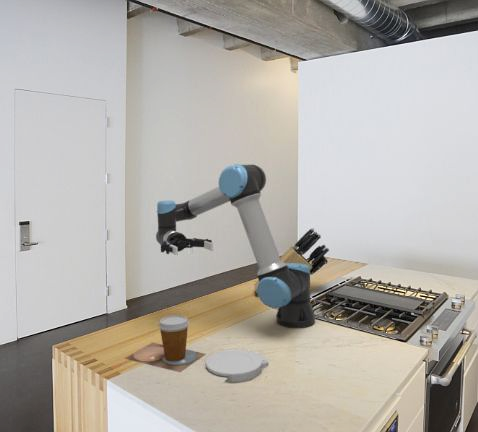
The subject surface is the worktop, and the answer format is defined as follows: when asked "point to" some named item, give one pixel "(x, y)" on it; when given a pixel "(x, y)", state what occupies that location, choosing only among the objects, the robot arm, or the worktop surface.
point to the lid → (236, 364)
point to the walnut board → (161, 363)
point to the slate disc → (189, 358)
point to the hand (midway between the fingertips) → (194, 249)
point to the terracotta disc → (149, 354)
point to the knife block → (304, 245)
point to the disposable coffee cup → (174, 336)
